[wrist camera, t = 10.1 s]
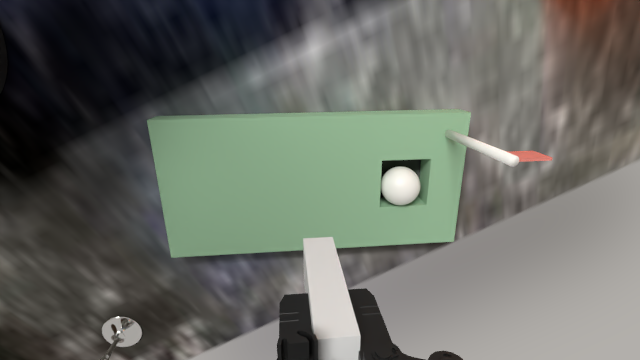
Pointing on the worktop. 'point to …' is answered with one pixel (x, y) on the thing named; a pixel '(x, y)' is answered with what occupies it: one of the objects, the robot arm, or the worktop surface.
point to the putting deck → (309, 178)
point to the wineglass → (120, 333)
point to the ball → (400, 185)
